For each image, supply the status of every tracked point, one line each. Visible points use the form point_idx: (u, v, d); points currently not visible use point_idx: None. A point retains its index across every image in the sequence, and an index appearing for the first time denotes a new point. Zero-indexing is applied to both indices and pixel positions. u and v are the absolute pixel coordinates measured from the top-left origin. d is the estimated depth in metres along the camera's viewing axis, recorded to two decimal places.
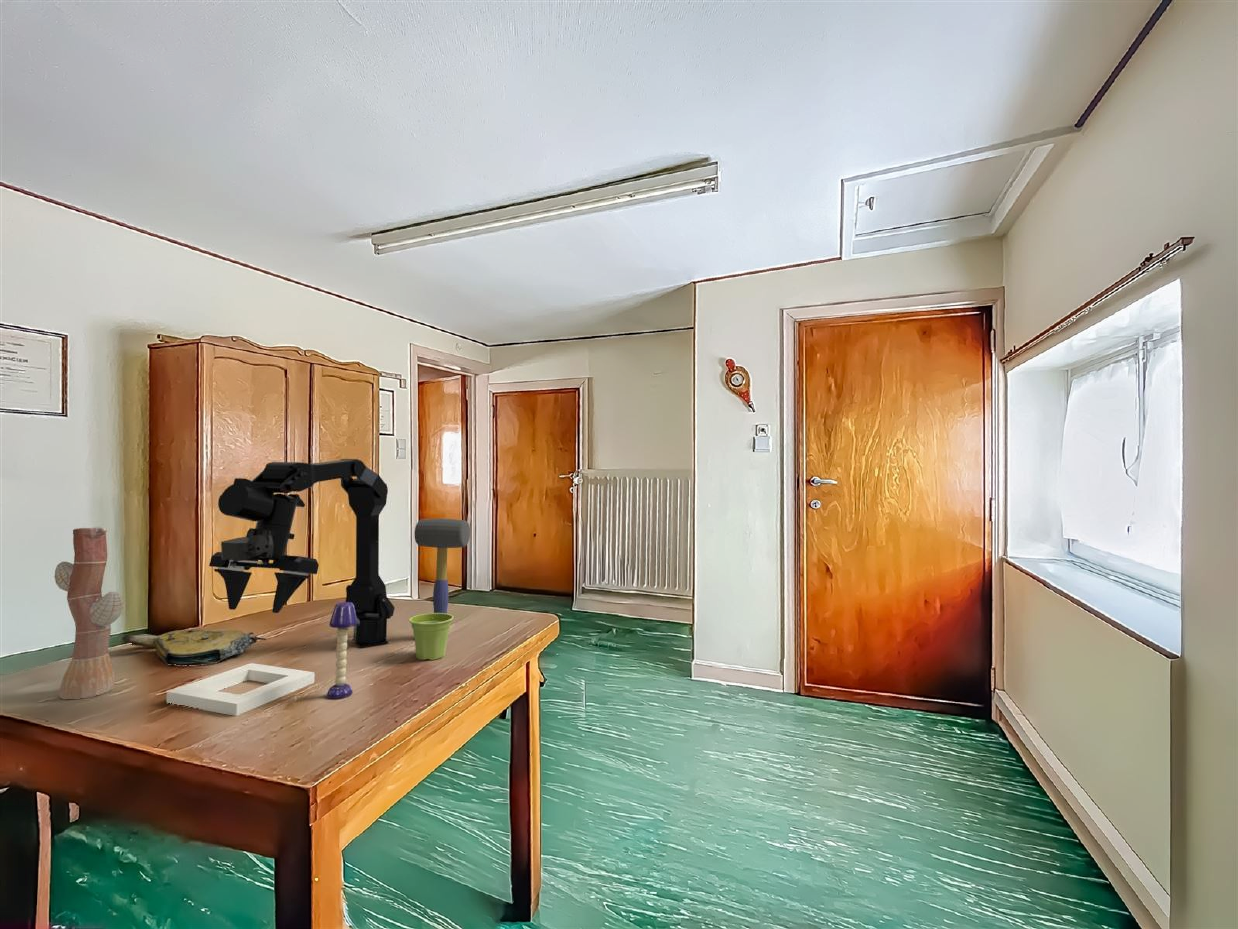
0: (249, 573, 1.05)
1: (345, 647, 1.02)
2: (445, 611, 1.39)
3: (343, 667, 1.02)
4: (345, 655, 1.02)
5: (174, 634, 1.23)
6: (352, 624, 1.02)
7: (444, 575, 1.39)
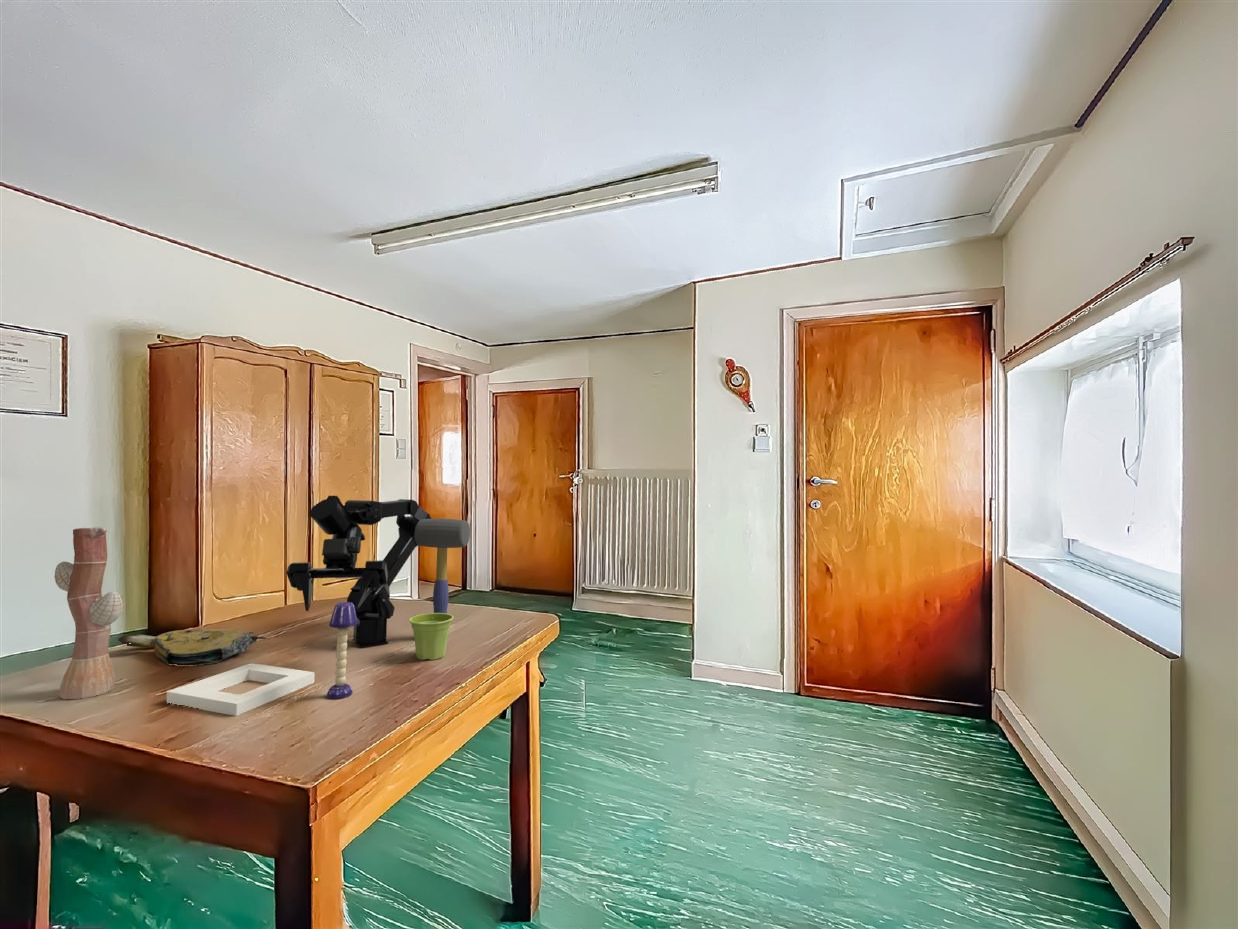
0: (312, 588, 1.17)
1: (345, 647, 1.02)
2: (445, 611, 1.39)
3: (343, 667, 1.02)
4: (345, 655, 1.02)
5: (172, 634, 1.23)
6: (352, 624, 1.02)
7: (444, 575, 1.39)
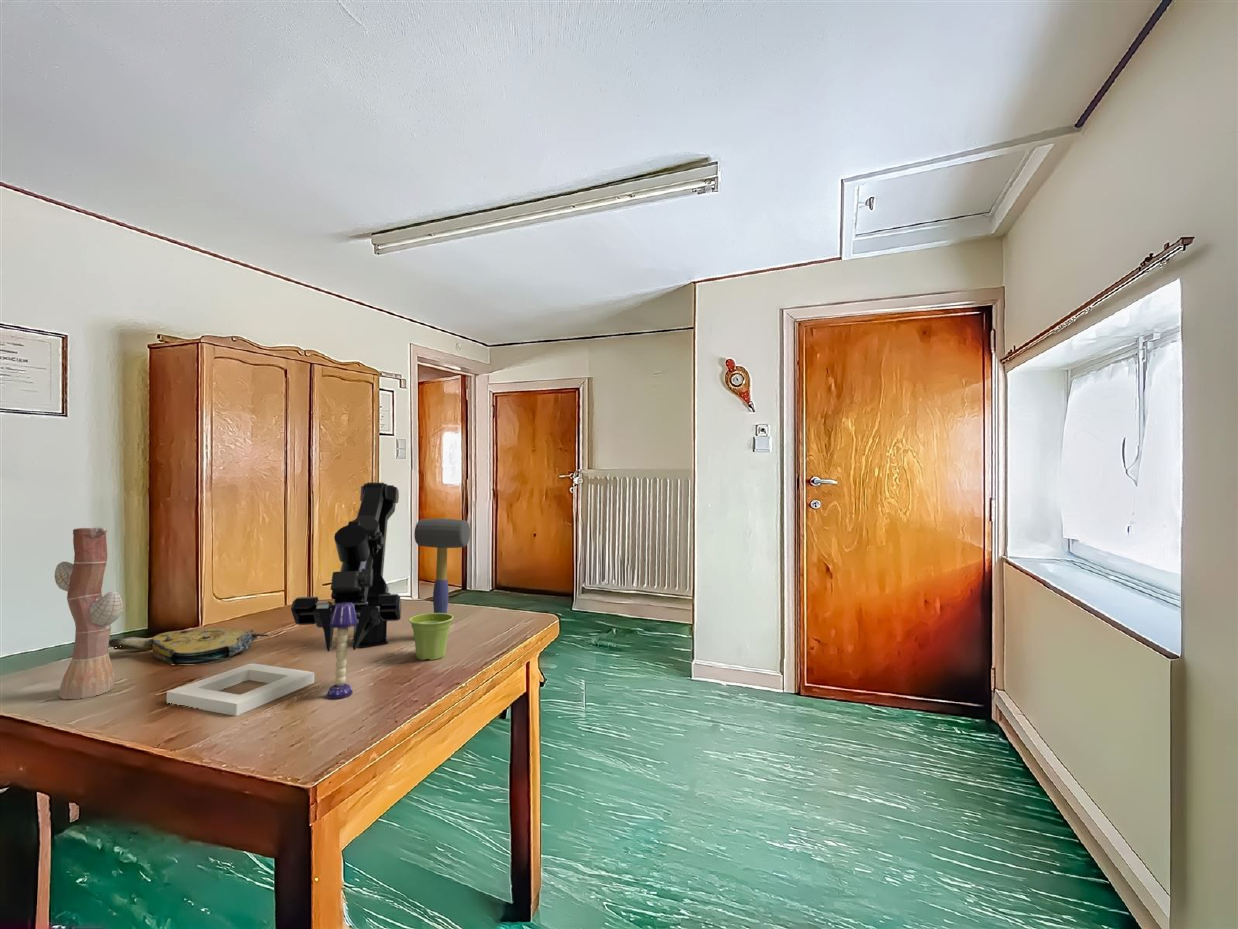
0: None
1: (345, 647, 1.02)
2: (445, 611, 1.39)
3: (343, 667, 1.02)
4: (345, 655, 1.02)
5: (168, 635, 1.22)
6: (352, 624, 1.02)
7: (444, 575, 1.39)
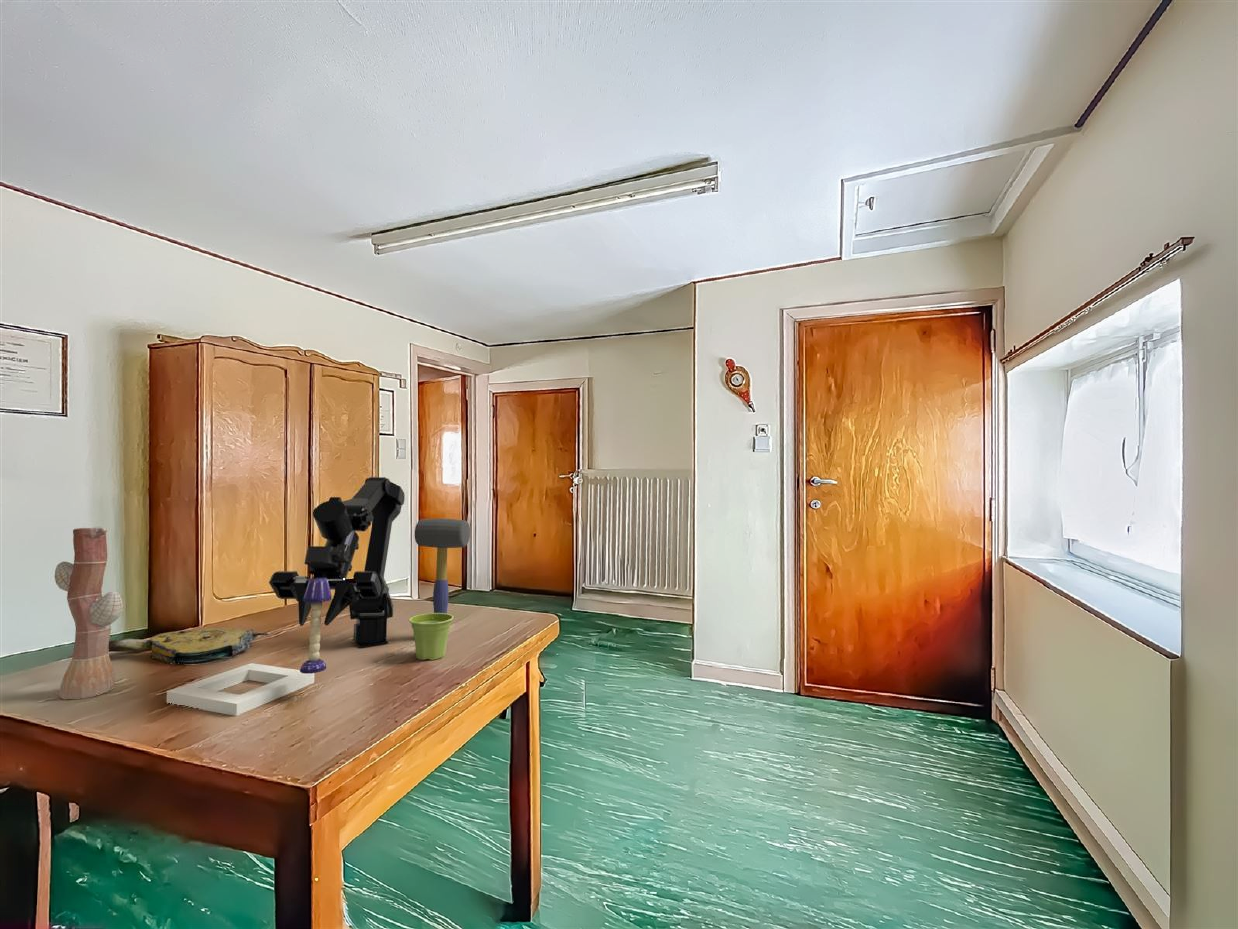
0: None
1: (318, 622, 1.01)
2: (445, 611, 1.39)
3: (316, 642, 1.01)
4: (318, 630, 1.01)
5: (167, 636, 1.22)
6: (324, 599, 1.01)
7: (444, 575, 1.39)
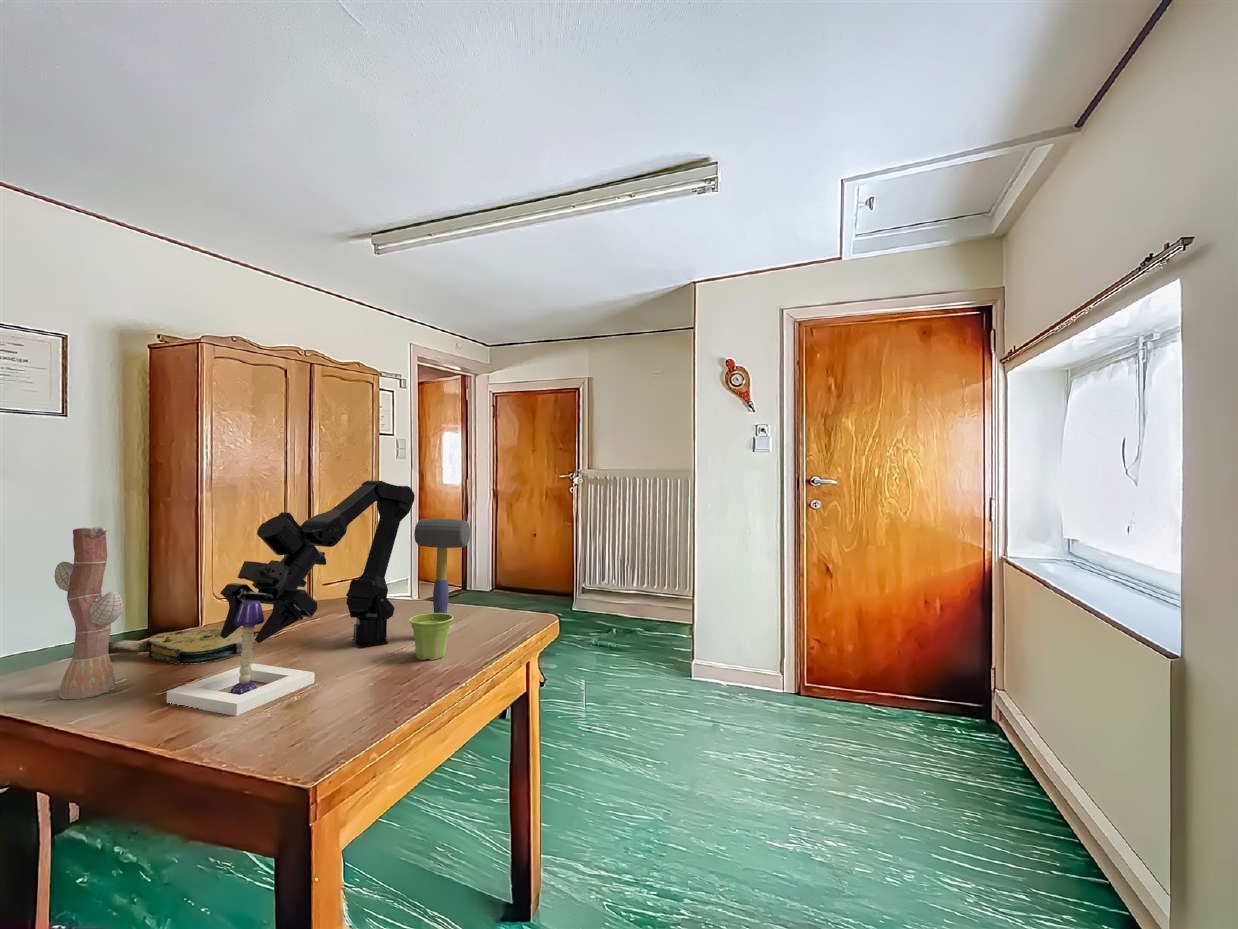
0: None
1: (247, 646, 1.02)
2: (445, 611, 1.39)
3: (245, 665, 1.02)
4: (247, 654, 1.02)
5: (165, 636, 1.21)
6: (248, 623, 1.01)
7: (444, 575, 1.39)
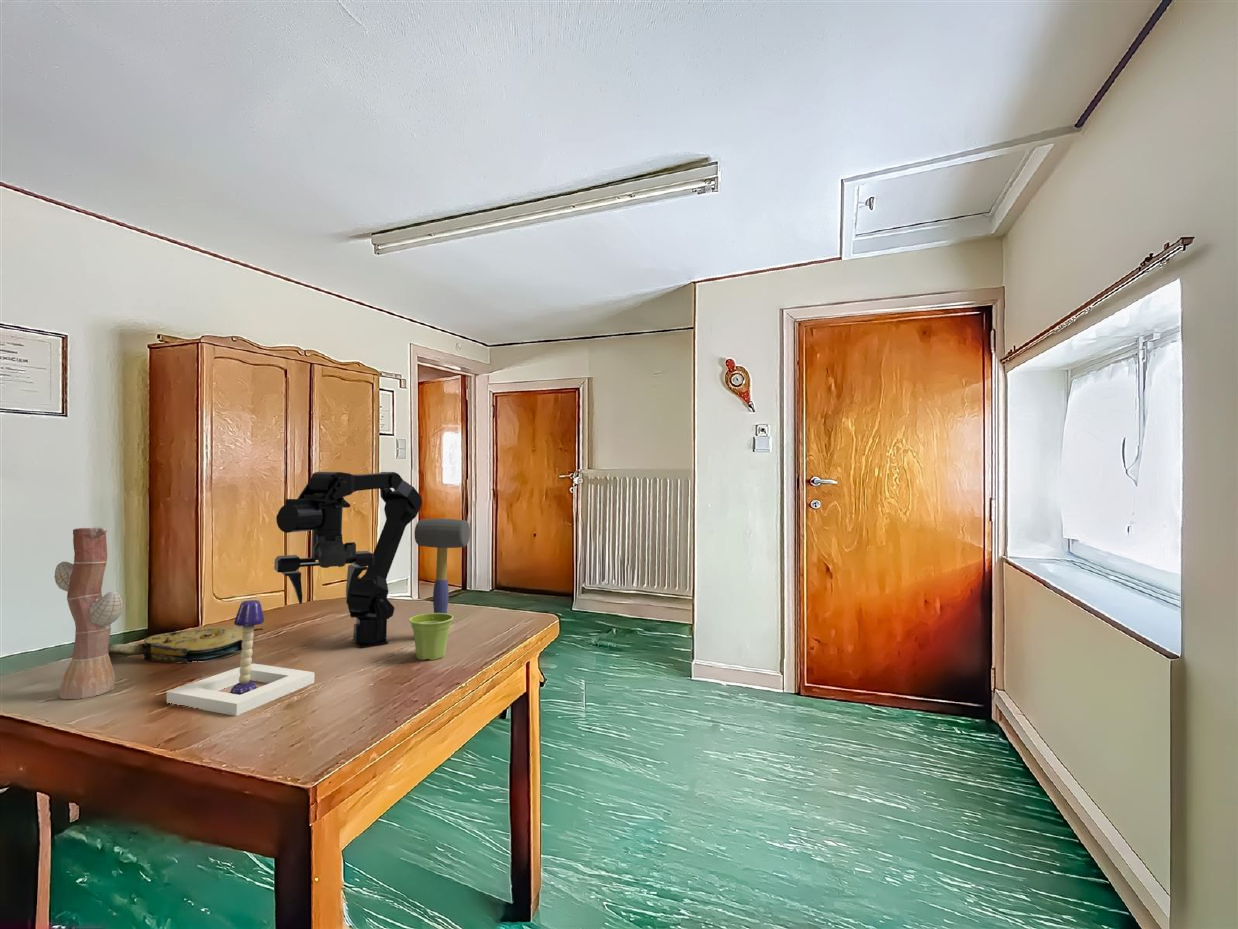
0: None
1: (247, 646, 1.02)
2: (445, 611, 1.39)
3: (245, 665, 1.02)
4: (247, 654, 1.02)
5: (161, 637, 1.20)
6: (248, 623, 1.01)
7: (444, 575, 1.39)
